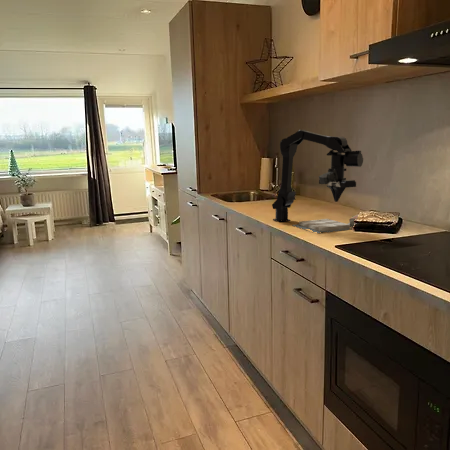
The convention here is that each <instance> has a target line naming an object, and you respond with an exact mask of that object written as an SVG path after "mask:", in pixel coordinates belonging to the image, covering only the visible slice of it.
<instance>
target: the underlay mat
mask: <svg viewBox="0 0 450 450" xmlns="http://www.w3.org/2000/svg"><path fill="white" fill-rule="evenodd" d="M291 226H292V227H295V226H296V227H295V228H298V227H299V228H298V229H301V228H302V229H301V230H304V229H310V230H312V231H313V232H317V233H319V234H321V233H320V232H327V233H333V231H335V232H342V230H343V231H348V230H349V229H351V230H353V227H350V228H346V229H338V230H328V231H317V230H314V229H311V228H308V227H305V226H302V225H299V223H298V224H297V223H296V224H292V225H291ZM349 231H350V230H349ZM313 232H312V233H313Z"/></svg>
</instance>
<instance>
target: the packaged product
mask: <svg viewBox="0 0 450 450" xmlns="http://www.w3.org/2000/svg"><path fill="white" fill-rule="evenodd" d="M359 214H360V213H359ZM359 214H358V213H357V214H356V215H353V216H352V217H349V219H348V220H349V222H348V223H347V224H349V225H350V228H353V226H354V220H355V219H357V217H358V215H359Z"/></svg>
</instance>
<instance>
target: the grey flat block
mask: <svg viewBox="0 0 450 450" xmlns="http://www.w3.org/2000/svg"><path fill="white" fill-rule="evenodd" d="M318 220H319V221H323V222H326V223H330V224H334V225H337V226H339V229H346V228H351V227H350V225H349V224H348V223H345V222H341V221H338V220H333V219H331V218H321V219H318Z"/></svg>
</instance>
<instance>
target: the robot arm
mask: <svg viewBox="0 0 450 450" xmlns="http://www.w3.org/2000/svg"><path fill="white" fill-rule="evenodd" d="M304 140H305V141H308V142H312V143H316V144H321V145H323V146H325V147H326V148H328V149H330V150H329V152H327V153H326V156H330V157H331V158H330V168H328V170H327V172H324V173H323V174H320V175H319V176H318V184H319V185H326V187H327V188H329V189H330V191H331V193H332V194H331V195H332V197H333V200H334V202H335V203H336V202H339V200H340V198H341V196H342V194H343V193H344V192H345V189H346V188H356V187H357V181H356V179H347V177H345V172H347V168H346V167H348V168H349V167H352V168H354V167H355V168H361V167H362V166H363V163H364V157H363V153H362V150H352V148H351V147H350V146H349V144H348V140H347V138H346V137H345V136H330V135H329V136H328V135H326V134H325V135H324V134H321V133H317V132H313V131H308V130H306V129H299V130H298V131H295V133H293V134H291V135H289V136H287V137H286V138H282V140H281V141H280V142H279V149H280V150H279V152H280V153H281V154H280V155H281V157H282V164H281V178H280V179H281V181H280V182H281V183H280V189H279V190H278V192H277V196H276V200H275V201H274V202H273V203H272V204H271V207H272V209H273V210H275V218H273V219H272V220H273V221H275V222H279V223H281V222H290V221H291V219H289V209H288V208H291V206H292V204H293V203H294V201H295V200H296V198H295V197H296V191H295V190H293V189H292V182H293V181H292V179H293V164H294V157H295V155H296V153H297V150H298V149H297V148H298V146H300V144H302V142H303V141H304ZM345 166H346V167H345Z"/></svg>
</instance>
